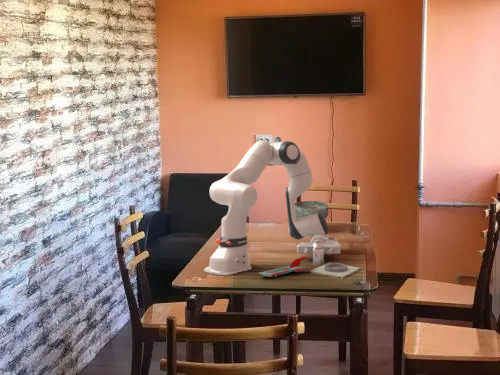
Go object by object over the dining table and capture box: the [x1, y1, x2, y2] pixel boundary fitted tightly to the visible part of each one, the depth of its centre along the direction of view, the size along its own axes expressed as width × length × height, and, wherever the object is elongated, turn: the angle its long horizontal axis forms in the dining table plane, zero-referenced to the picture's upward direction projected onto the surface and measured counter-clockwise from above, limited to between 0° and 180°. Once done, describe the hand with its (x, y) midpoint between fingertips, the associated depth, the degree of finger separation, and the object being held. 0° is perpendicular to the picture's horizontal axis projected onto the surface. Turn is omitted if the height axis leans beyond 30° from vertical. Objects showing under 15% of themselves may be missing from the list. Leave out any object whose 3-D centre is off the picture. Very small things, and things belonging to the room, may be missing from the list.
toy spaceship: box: [257, 256, 318, 278], centre depth 317 cm, size 27×11×5 cm, turn 128°
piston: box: [312, 242, 325, 267], centre depth 331 cm, size 5×5×10 cm
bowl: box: [295, 200, 330, 220], centre depth 398 cm, size 20×19×15 cm
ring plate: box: [310, 262, 361, 279], centre depth 321 cm, size 16×16×2 cm
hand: (318, 252), depth 332 cm, fingers open, 8 cm apart
